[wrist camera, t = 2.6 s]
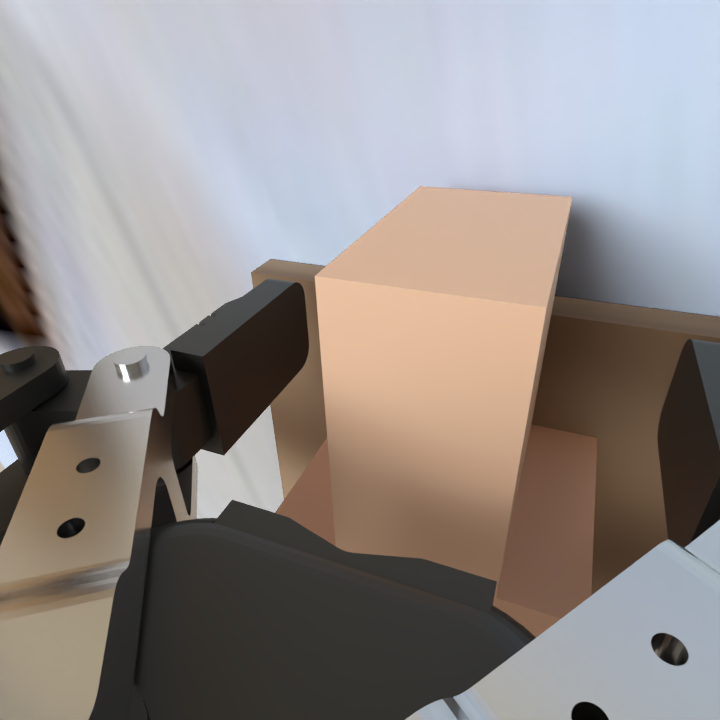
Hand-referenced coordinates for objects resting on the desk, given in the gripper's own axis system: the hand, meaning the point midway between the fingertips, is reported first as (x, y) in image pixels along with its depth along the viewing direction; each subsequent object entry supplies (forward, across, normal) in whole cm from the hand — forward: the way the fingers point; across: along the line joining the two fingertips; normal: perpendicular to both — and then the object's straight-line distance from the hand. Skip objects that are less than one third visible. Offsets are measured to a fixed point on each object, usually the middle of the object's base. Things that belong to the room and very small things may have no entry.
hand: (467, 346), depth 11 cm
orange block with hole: (+1, 0, +3) cm, 3 cm away
